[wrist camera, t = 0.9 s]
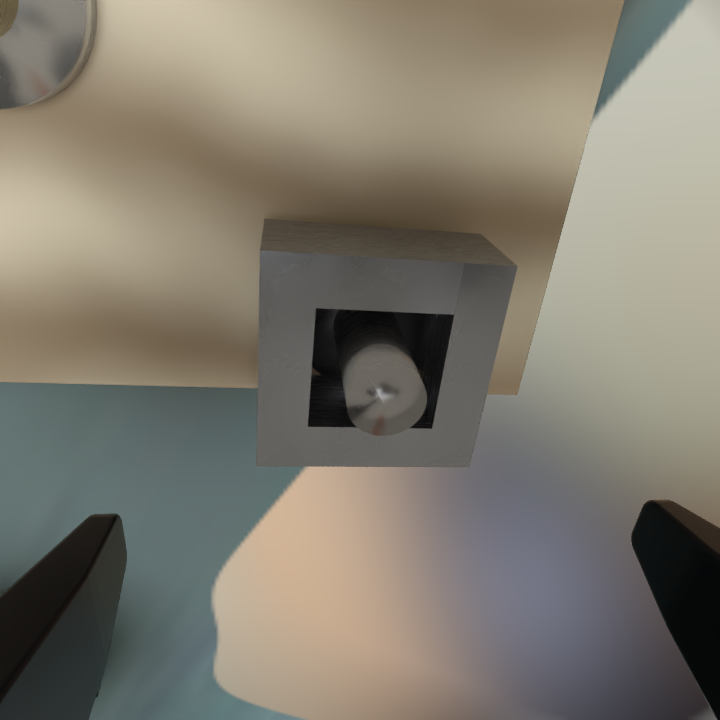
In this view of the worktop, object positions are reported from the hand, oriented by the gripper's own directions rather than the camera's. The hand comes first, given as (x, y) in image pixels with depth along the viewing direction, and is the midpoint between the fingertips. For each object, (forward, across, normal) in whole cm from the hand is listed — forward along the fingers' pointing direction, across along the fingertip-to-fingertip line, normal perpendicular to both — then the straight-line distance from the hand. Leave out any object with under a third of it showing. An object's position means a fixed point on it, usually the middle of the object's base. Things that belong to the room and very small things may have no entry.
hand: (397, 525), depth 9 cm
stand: (+11, -1, 0) cm, 11 cm away
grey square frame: (+9, -1, 0) cm, 9 cm away
